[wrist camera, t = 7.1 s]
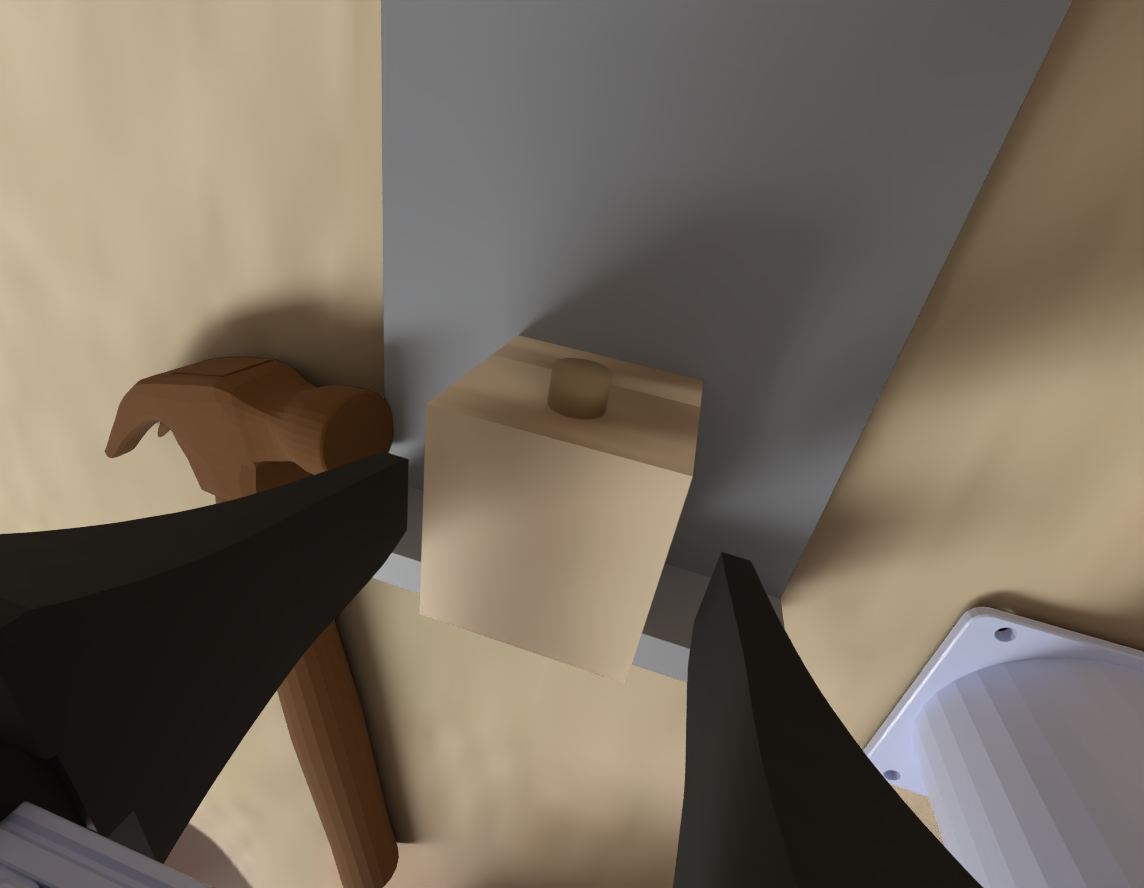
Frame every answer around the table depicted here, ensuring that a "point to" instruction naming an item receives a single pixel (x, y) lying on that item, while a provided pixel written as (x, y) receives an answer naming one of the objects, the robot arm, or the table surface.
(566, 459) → the cabinet block
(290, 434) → the hammer
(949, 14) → the wall board
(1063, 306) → the table surface
